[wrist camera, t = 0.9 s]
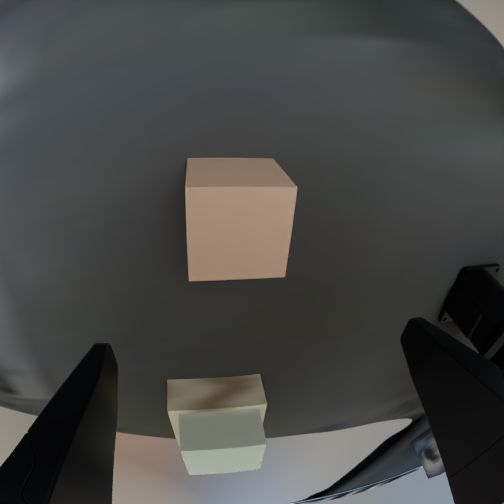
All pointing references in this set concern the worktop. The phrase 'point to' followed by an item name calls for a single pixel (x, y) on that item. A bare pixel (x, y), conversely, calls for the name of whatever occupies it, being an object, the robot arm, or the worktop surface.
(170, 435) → the worktop surface
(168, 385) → the tower base
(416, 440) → the small box
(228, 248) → the terracotta cube
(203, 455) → the tower top
